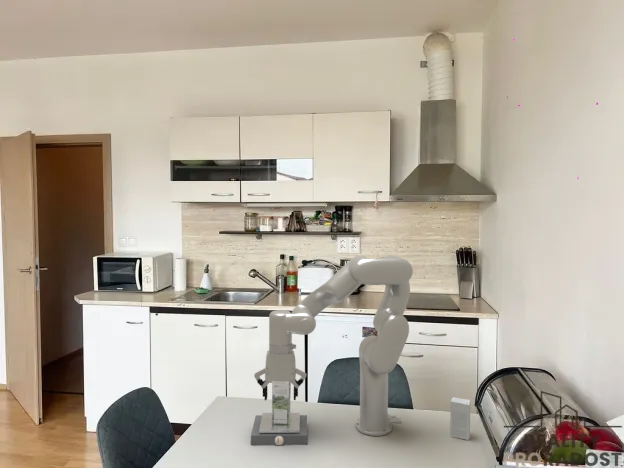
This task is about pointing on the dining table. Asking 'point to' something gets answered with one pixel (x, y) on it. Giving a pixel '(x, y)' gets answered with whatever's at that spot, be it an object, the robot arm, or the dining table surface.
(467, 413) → the skincare box
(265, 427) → the pan
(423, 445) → the dining table surface
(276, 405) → the syrup box
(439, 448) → the dining table surface
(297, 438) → the base
